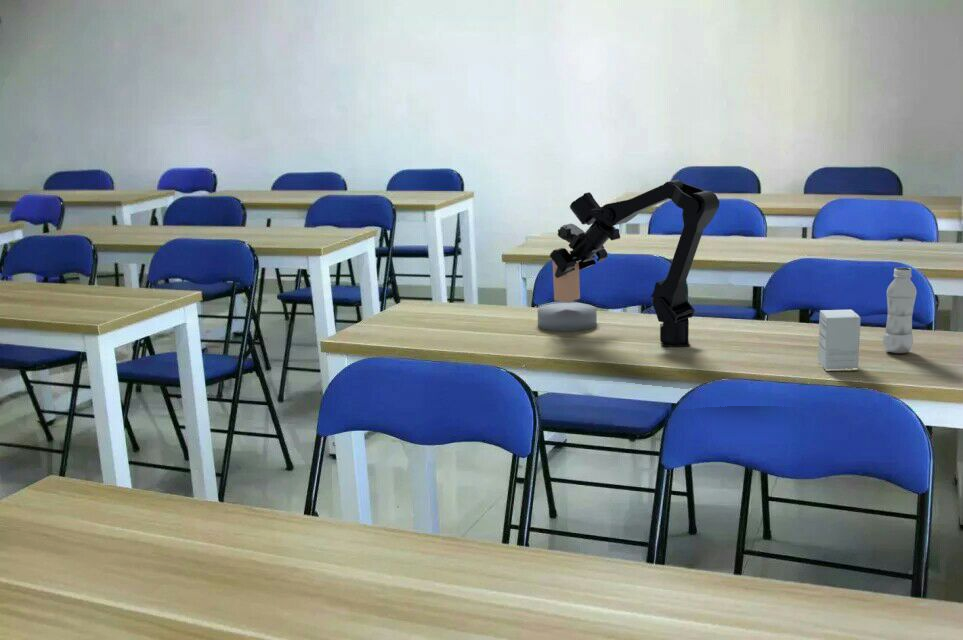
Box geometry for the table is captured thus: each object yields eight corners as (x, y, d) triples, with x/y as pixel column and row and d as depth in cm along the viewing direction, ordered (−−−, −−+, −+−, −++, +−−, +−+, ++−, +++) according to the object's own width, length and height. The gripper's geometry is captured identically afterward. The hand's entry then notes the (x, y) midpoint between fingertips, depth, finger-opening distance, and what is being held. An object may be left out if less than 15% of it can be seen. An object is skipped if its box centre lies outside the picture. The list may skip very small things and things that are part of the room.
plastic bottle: (875, 350, 238) (880, 268, 233) (898, 347, 240) (904, 265, 235) (895, 357, 232) (901, 273, 227) (918, 353, 234) (924, 269, 229)
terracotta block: (580, 298, 272) (578, 251, 269) (568, 302, 269) (566, 254, 265) (565, 296, 276) (563, 249, 272) (554, 300, 272) (552, 253, 269)
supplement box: (849, 362, 230) (852, 308, 227) (858, 371, 223) (861, 316, 220) (816, 362, 231) (819, 309, 227) (824, 372, 223) (826, 317, 220)
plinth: (597, 316, 280) (597, 302, 279) (596, 331, 265) (595, 316, 264) (540, 316, 282) (539, 303, 281) (535, 331, 267) (535, 316, 266)
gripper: (598, 210, 270) (566, 247, 280) (554, 219, 257) (523, 257, 267) (622, 241, 267) (589, 277, 277) (579, 252, 254) (546, 290, 264)
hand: (562, 274), depth 271 cm, fingers closed on terracotta block, 5 cm apart
